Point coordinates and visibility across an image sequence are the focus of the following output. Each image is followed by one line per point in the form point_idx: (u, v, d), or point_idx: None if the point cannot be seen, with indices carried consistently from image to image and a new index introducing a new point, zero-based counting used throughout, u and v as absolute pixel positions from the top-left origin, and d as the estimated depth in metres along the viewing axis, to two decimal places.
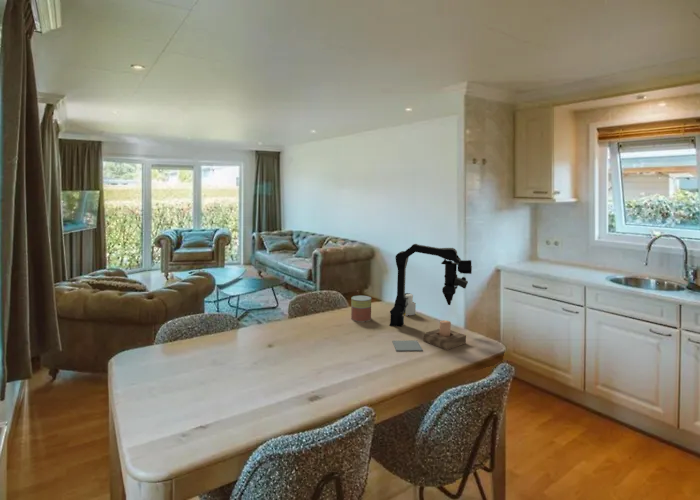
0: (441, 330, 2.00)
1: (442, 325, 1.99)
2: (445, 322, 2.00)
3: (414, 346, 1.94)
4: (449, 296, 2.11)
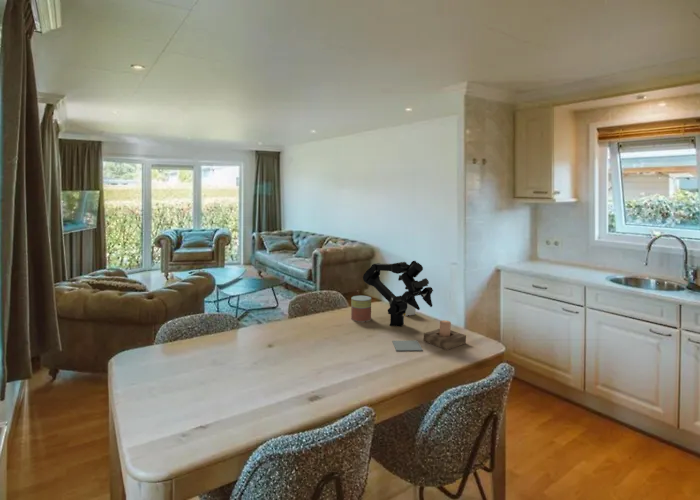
0: (441, 330, 2.00)
1: (442, 325, 1.99)
2: (445, 322, 2.00)
3: (414, 346, 1.94)
4: (412, 301, 2.09)
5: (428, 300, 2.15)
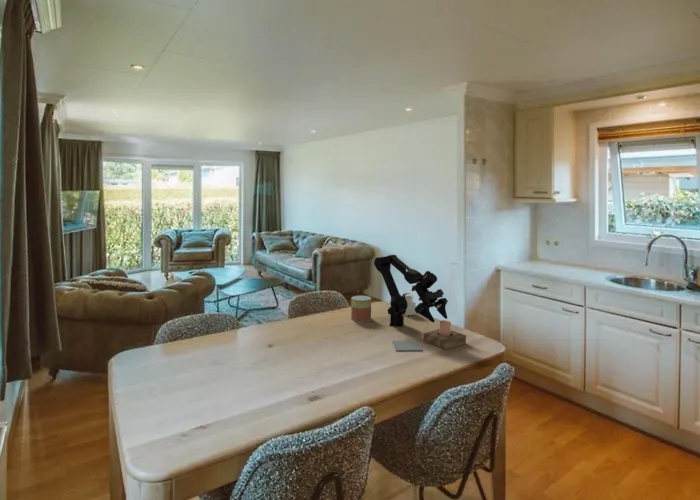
0: (441, 330, 2.00)
1: (442, 325, 1.99)
2: (445, 322, 2.00)
3: (414, 346, 1.94)
4: (427, 313, 2.01)
5: (443, 312, 2.07)
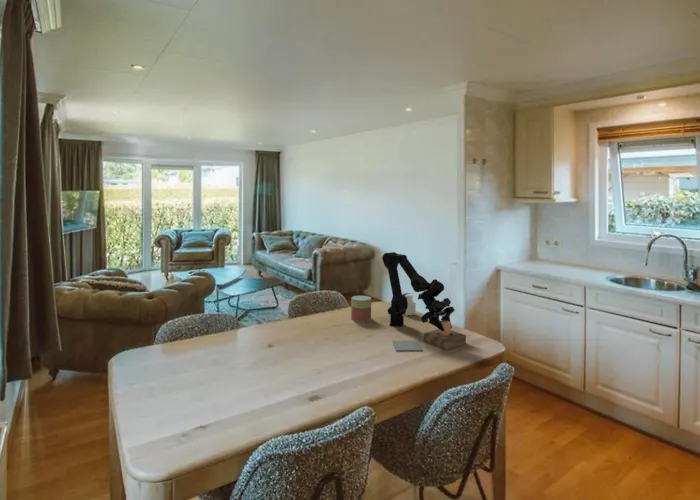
0: (441, 330, 2.00)
1: (442, 325, 1.99)
2: (445, 322, 2.00)
3: (414, 346, 1.94)
4: (437, 322, 1.99)
5: None
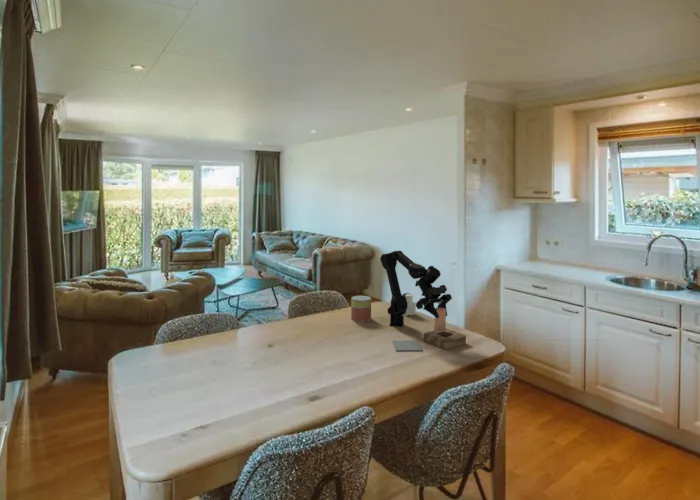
0: None
1: (437, 312, 1.96)
2: (440, 309, 1.97)
3: (414, 346, 1.94)
4: (431, 309, 1.97)
5: None
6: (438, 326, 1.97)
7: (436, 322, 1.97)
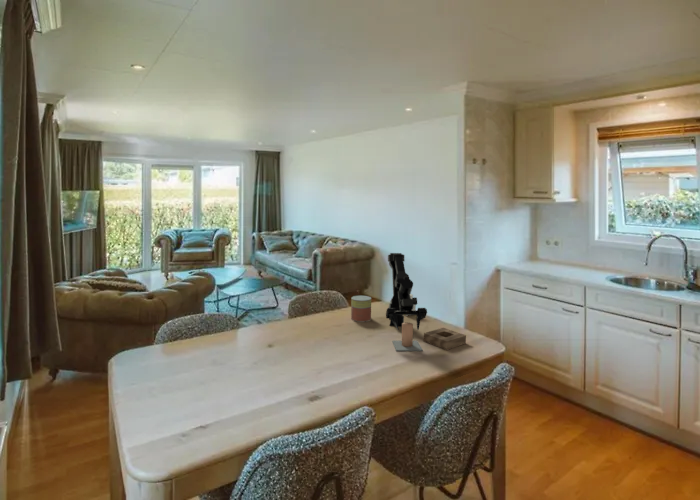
0: (402, 331, 1.95)
1: (402, 326, 1.94)
2: (406, 324, 1.94)
3: (414, 346, 1.94)
4: (394, 320, 1.96)
5: (417, 322, 1.96)
6: (403, 340, 1.94)
7: (402, 337, 1.95)
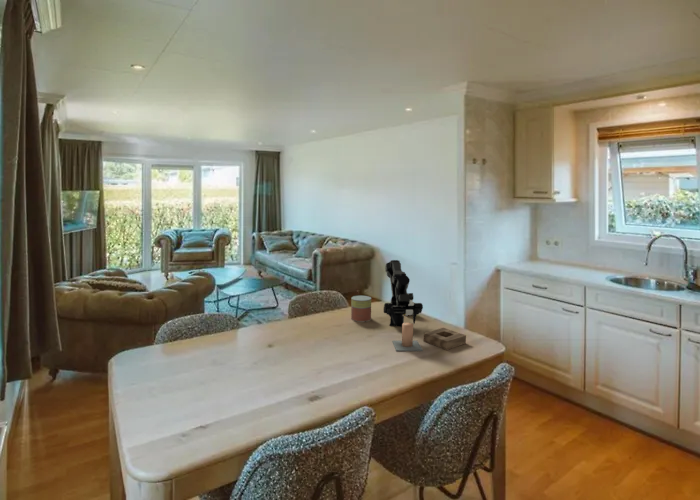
0: (402, 331, 1.95)
1: (402, 326, 1.94)
2: (406, 324, 1.94)
3: (414, 346, 1.94)
4: (391, 314, 2.05)
5: (413, 316, 2.04)
6: (403, 341, 1.94)
7: (402, 337, 1.95)
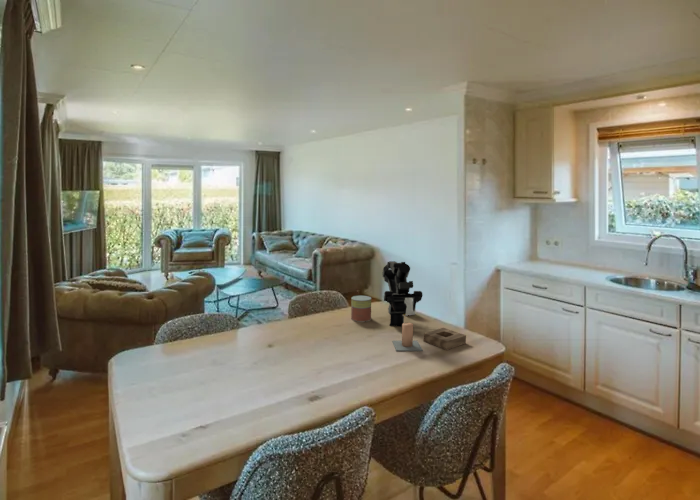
0: (402, 331, 1.95)
1: (402, 326, 1.94)
2: (406, 324, 1.94)
3: (414, 346, 1.94)
4: (392, 302, 2.08)
5: (413, 304, 2.08)
6: (403, 341, 1.94)
7: (402, 337, 1.95)
